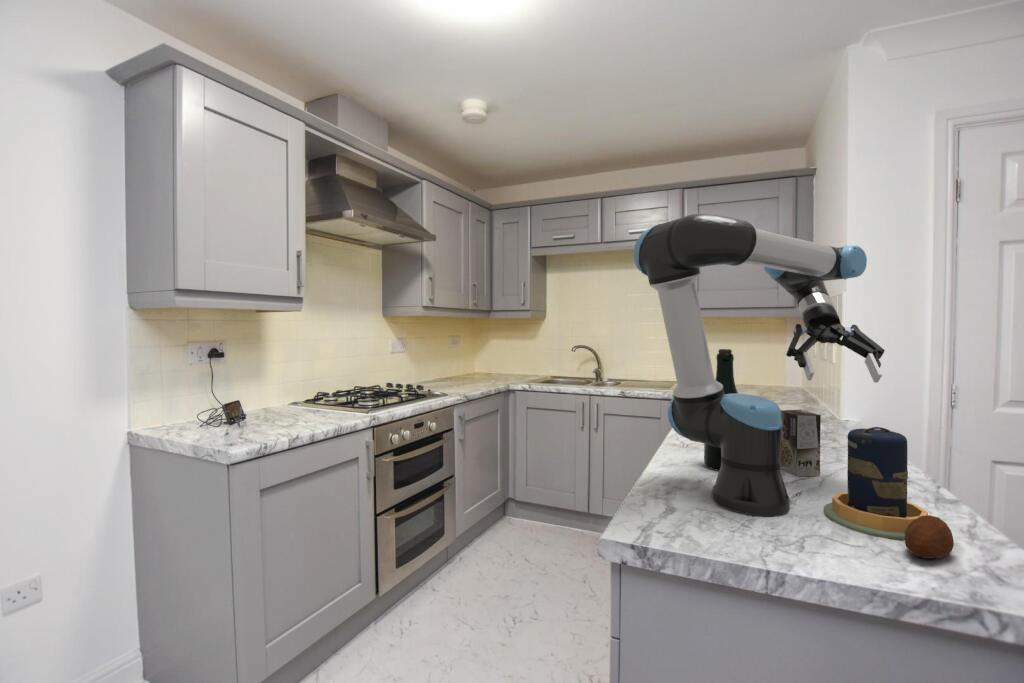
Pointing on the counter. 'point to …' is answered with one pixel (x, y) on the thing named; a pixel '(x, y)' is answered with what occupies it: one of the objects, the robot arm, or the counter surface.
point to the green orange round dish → (871, 518)
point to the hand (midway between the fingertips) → (844, 377)
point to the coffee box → (800, 442)
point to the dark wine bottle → (727, 380)
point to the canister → (877, 471)
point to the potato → (929, 537)
